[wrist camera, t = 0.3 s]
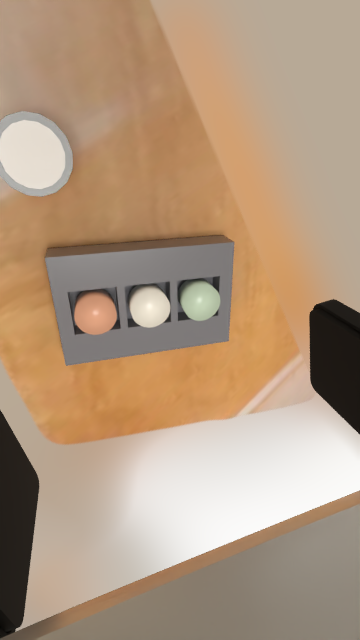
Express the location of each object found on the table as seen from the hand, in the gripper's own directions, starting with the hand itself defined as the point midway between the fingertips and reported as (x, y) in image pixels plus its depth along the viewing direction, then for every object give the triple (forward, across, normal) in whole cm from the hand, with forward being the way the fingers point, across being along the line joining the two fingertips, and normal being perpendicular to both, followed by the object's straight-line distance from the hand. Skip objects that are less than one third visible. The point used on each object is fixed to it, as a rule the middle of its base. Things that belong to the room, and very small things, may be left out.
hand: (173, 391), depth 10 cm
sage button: (+33, -9, +12) cm, 36 cm away
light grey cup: (+35, +4, -8) cm, 36 cm away
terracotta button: (+34, +4, +10) cm, 35 cm away
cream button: (+34, -2, +11) cm, 36 cm away
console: (+35, -2, +11) cm, 37 cm away
